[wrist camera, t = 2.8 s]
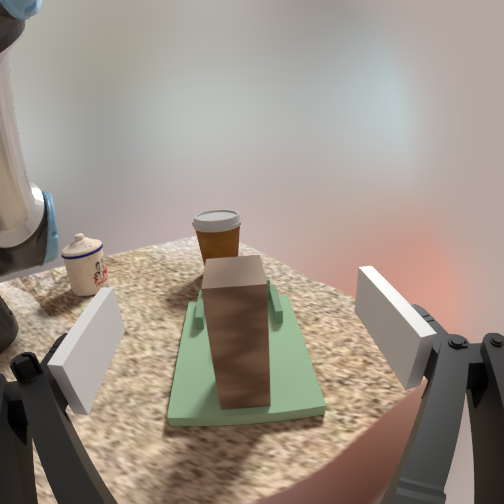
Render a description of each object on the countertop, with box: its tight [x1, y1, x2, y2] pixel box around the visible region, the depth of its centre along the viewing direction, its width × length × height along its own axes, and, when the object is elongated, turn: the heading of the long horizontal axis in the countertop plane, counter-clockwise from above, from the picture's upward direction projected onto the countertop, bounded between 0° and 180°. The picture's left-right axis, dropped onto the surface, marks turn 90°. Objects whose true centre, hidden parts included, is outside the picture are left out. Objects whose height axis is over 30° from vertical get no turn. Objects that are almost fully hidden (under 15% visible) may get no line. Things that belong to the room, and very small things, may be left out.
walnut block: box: [201, 255, 271, 410], centre depth 29 cm, size 5×6×14 cm
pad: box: [167, 277, 326, 426], centre depth 38 cm, size 16×24×5 cm, turn 4°
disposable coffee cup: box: [192, 210, 242, 266], centre depth 61 cm, size 10×10×12 cm
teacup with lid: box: [62, 233, 110, 296], centre depth 58 cm, size 12×9×12 cm
